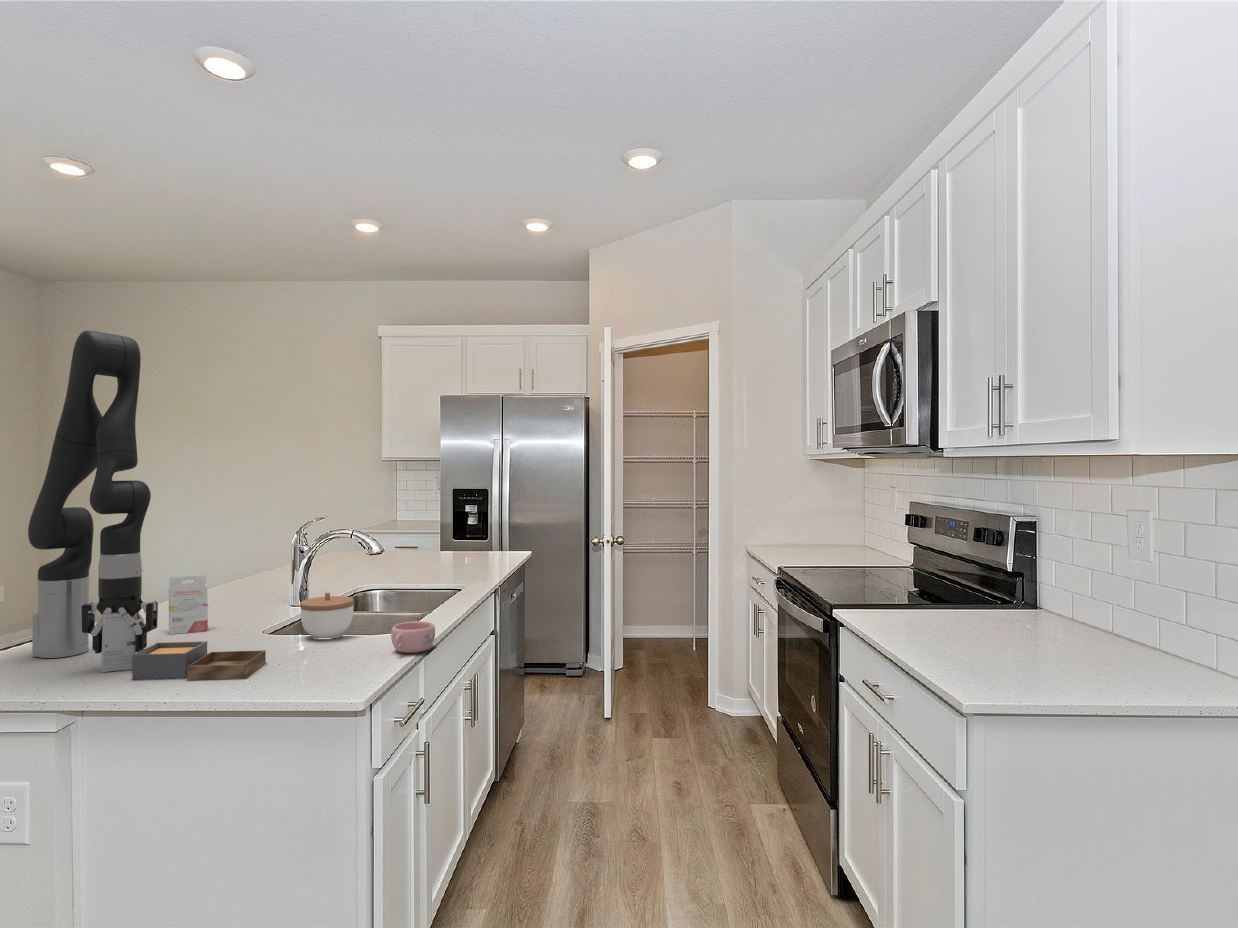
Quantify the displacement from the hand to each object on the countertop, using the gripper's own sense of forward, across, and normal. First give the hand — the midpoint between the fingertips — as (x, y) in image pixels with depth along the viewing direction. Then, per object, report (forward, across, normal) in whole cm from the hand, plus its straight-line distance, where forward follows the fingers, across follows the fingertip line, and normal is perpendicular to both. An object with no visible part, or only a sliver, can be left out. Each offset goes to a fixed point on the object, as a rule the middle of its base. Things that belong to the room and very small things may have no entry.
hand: (119, 651), depth 150 cm
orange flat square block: (+1, +12, -4) cm, 13 cm away
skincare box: (+4, 0, 0) cm, 4 cm away
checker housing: (+4, +12, -4) cm, 13 cm away
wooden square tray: (+4, +23, -5) cm, 24 cm away
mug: (+4, +59, +7) cm, 59 cm away
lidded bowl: (+4, +36, +24) cm, 43 cm away
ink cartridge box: (+4, -1, +34) cm, 34 cm away
